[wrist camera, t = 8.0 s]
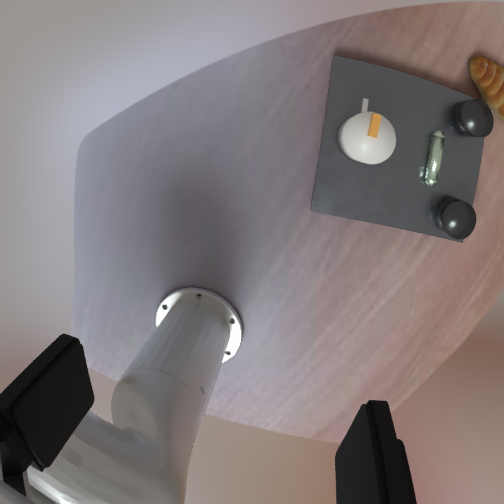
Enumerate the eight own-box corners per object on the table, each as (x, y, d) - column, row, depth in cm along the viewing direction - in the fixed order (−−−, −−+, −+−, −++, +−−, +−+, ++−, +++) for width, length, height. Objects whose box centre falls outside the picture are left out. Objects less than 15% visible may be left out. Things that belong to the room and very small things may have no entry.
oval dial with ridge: (376, 166, 32) (391, 171, 27) (333, 154, 32) (340, 155, 27) (386, 123, 30) (402, 120, 25) (343, 110, 31) (352, 104, 25)
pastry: (457, 79, 29) (471, 74, 25) (474, 46, 27) (488, 40, 23) (504, 128, 30) (520, 128, 26) (519, 94, 27) (535, 92, 24)
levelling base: (455, 238, 35) (473, 250, 31) (310, 207, 37) (312, 217, 32) (479, 105, 29) (500, 102, 24) (332, 59, 31) (337, 47, 26)
